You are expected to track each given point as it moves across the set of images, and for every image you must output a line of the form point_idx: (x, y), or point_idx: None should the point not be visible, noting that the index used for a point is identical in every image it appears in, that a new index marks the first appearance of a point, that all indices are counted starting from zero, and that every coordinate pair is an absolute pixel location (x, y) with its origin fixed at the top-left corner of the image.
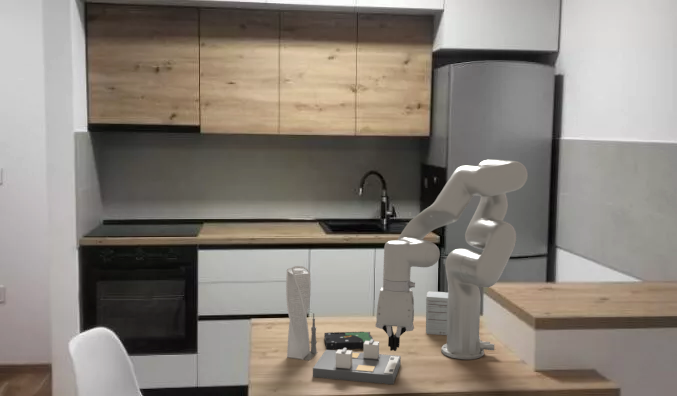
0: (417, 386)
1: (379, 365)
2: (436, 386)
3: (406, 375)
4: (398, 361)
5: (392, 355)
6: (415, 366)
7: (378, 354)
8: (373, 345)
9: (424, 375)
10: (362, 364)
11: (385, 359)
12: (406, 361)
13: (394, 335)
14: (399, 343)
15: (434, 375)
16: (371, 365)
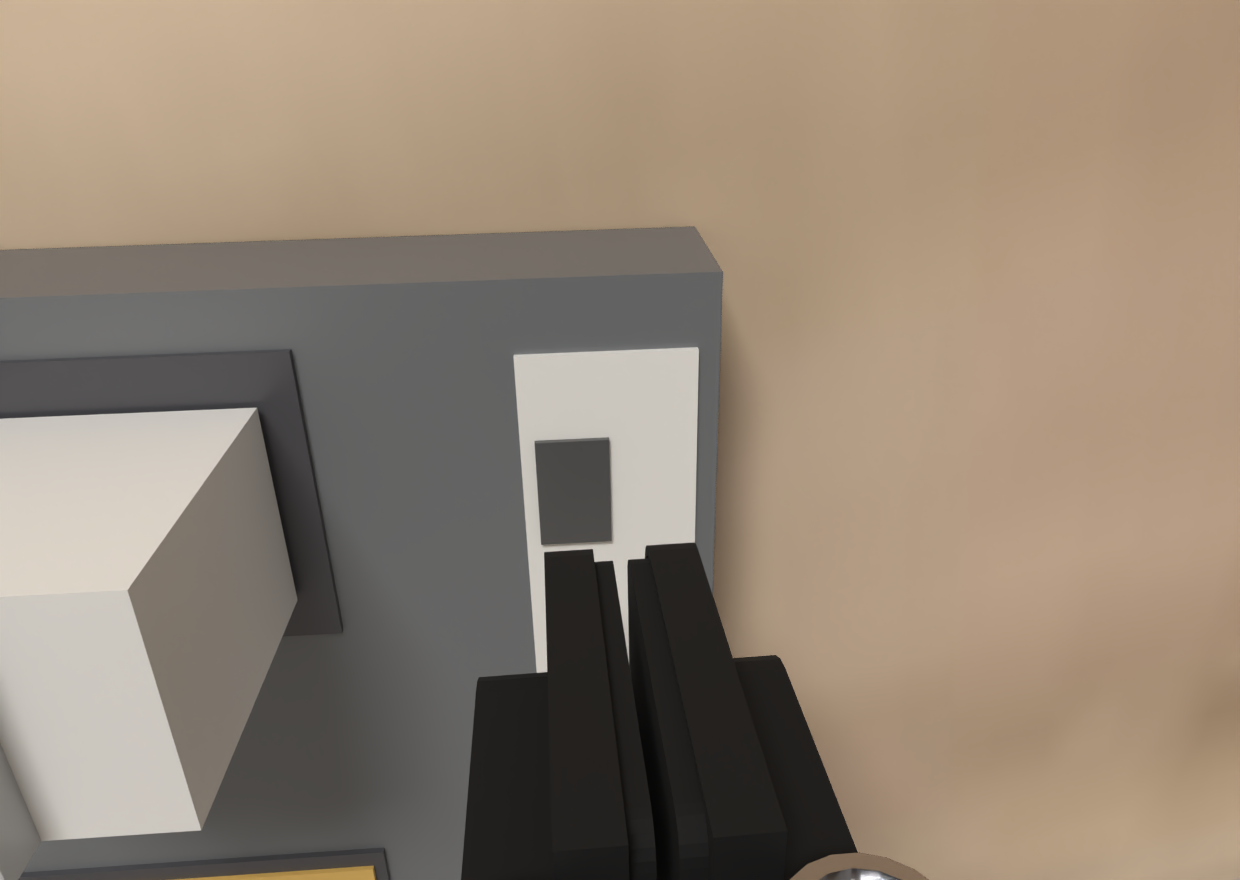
0: (963, 868)
1: (424, 799)
2: (1184, 816)
3: (825, 632)
4: (711, 570)
5: (539, 292)
6: (970, 249)
7: (259, 503)
8: (94, 825)
9: (1083, 567)
10: (141, 838)
11: (450, 543)
12: (797, 19)
13: (652, 841)
14: (790, 689)
15: (1229, 530)
16: (299, 834)
